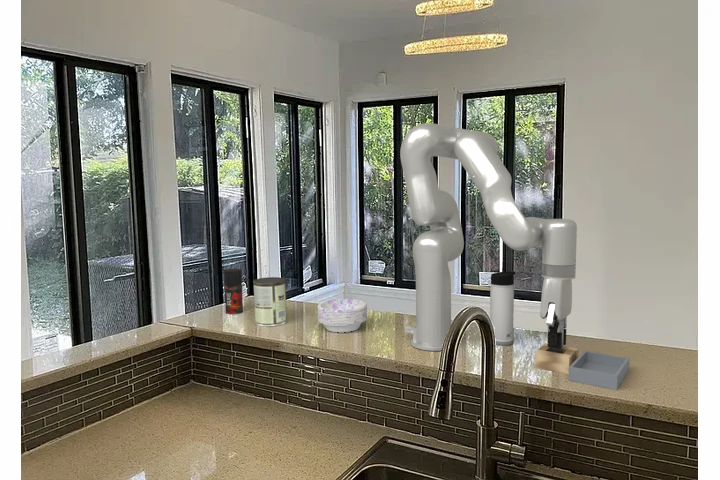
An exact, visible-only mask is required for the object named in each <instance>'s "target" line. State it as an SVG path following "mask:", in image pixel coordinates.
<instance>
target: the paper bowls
mask: <svg viewBox="0 0 720 480" xmlns="http://www.w3.org/2000/svg"><path fill="white" fill-rule="evenodd" d="M316 306H317V322H318V323H319V324H323V325H324V327H325V329H326V330H327V331H329V332H332V333H337V332H339V334H341V333H343V334H344V332H346V333H352V332H354V331H357V330H358V329H359V328H360V327H361V325H362V323H364V322H366V321H367V319H368V305H367V302H365V301H363V300H361V299H356V298H355V299H354V298H336V299H335V298H334V299H328V300H324V301H321V302H320V303H318V305H316ZM351 331H352V332H351Z"/></svg>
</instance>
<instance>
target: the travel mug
mask: <svg viewBox="0 0 720 480" xmlns="http://www.w3.org/2000/svg"><path fill="white" fill-rule="evenodd" d="M515 275H516V272H515V271H513V270H512V271H497V272H494V273H491V275H490V282H489V283H490V286H489V287H490V291H489V292H490V293H489V295H490V297H489V302H490V303H489V304H490V306H489V320H490V319H491V321H492V323H493V325H494V327H495V329H494V330H495V338H496V345H495V346H500V345H501V346H503V347H504V346H506V347H507V346H511V345H513V343H514V310H515V309H514V306H515V305H514V302H515V300H514V299H515V298H514V297H515V287H514V286H515V277H514V276H515Z"/></svg>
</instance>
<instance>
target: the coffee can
mask: <svg viewBox="0 0 720 480" xmlns="http://www.w3.org/2000/svg"><path fill="white" fill-rule="evenodd" d="M252 282H253V283H252V284H253V295H254V296H253V297H254V298H253V300H254V319H255V320H254V321H255V326H258V327H263V328H264V327H265V328H266V327H267V328H270V326H273V327H278V326H283V325H285V324H286V323H288V320H287V316H288V315H287V296H286V295H287V292H286V290H287V289H286V282H287V279H286V278H284V277H279V276H278V277H277V276H276V277H275V276H272V277H271V276H269V277H260V278H256V279H254V280H252Z"/></svg>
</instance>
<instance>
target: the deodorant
mask: <svg viewBox="0 0 720 480" xmlns="http://www.w3.org/2000/svg"><path fill="white" fill-rule="evenodd" d="M242 276H243V275H242V269H241V268H228V269H224V270H223V277H224V278H223V279H224V280H223V282H224V301H225V302H224V304H225V306H224V307H225V314H227V315H239V314H243V312H244V304H243V303H244V302H243V301H244V300H243V299H244V298H243V281H242V280H243V277H242Z"/></svg>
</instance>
